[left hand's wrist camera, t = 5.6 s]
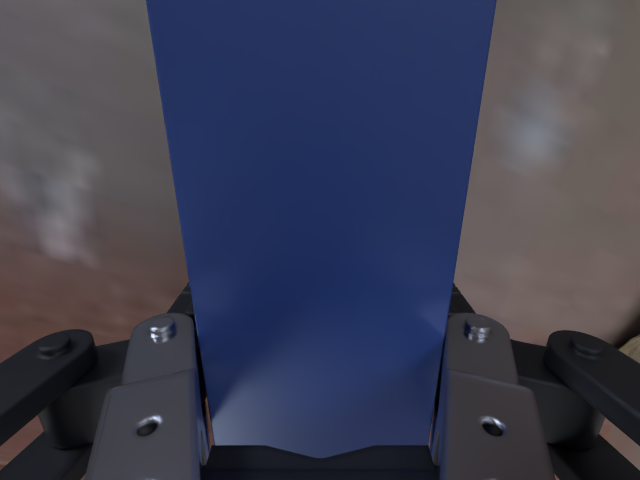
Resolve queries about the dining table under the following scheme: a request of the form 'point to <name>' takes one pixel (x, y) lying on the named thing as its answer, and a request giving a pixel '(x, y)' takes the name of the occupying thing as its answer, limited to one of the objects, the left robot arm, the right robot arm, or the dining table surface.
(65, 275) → the dining table surface
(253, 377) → the bar
